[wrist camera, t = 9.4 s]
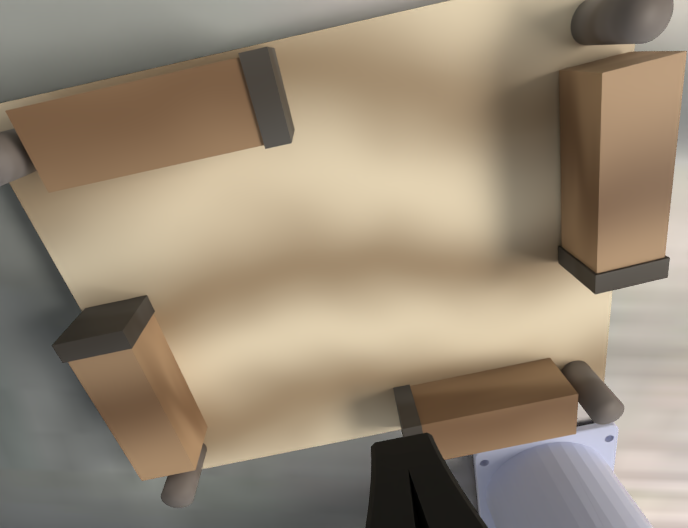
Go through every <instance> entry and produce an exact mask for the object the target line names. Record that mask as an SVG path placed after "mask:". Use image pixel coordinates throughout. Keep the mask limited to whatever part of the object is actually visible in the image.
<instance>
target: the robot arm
mask: <svg viewBox="0 0 688 528" xmlns="http://www.w3.org/2000/svg"><path fill="white" fill-rule="evenodd" d="M617 438H618V427H617V426H616V424H615V423H614V422H612V423H609V424H604V425H601V424H597V423H593V424H588V425H583V426H578V427H576V434H573V435H568V436H563V437H558V438H553V439H548V440H543V441H538V442H533V443H528V444H522V445H517V446H512V447H507V448H502V449H497V450H492V451H487V452H482V453H477V454H473V460H474V470H475V480H476V491H477V501H478V511H479V514H478V512H477V511H476V510H475V508H474V507H473V505H472V504H471V502H470V501H469V499H468V498H467V496H466V495H465V493H464V492H463V490H462V489H461V487H460V486H459V484H458V482H457V481H456V479H455V477H454V476H453V474H452V472H451V471H450V469H449V467H448V466H447V464H446V462H445V460H444V458H443V457H442V455H441V453H440V451H439V449H438V447H437V445H436V443H435V441H434V438H433V436H432V435H431V434H429V433H427V432H426V433H421V434H416V435H411V436H406V437H401V438H396V439H391V440H386V441H381V442H376V443H374V444H373V445H372V446H371V486H370V496H369V506H368V514H367V521H366V528H654V527H653V526H652V525H651V523H650V522H649V521H648V519H647V518H646V516H645V515H644V514H643V512H642V511H641V509H640V508H639V507H638V505H637V504H636V502H635V501H634V500H633V498H632V497H631V496H630V494H629V493H628V491H627V490H626V489H625V487H624V486H623V484H622V483H621V482H620V480H619V479H618V477H617V476H616V475H615V473H614V464H615V455H616V447H617Z"/></svg>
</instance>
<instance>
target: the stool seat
mask: <svg viewBox="0 0 688 528" xmlns="http://www.w3.org/2000/svg"><path fill="white" fill-rule="evenodd" d="M672 13H673V0H450V1H445V2H441V3H437V4H432V5H428V6H424V7H419V8H415V9H410V10H406V11H402V12H397V13H393V14H389V15H384V16H380V17H375V18H371V19H367V20H362V21H358V22H354V23H349V24H345V25H340V26H336V27H332V28H327V29H323V30H319V31H314V32H310V33H306V34H301V35H297V36H292V37H288V38H284V39H279V40H275V41H271V42H266V43H262V44H257V45H253V46H249V47H244V48H240V49H236V50H231V51H227V52H222V53H218V54H214V55H209V56H205V57H201V58H196V59H192V60H188V61H183V62H179V63H174V64H170V65H166V66H161V67H157V68H153V69H148V70H144V71H139V72H135V73H131V74H126V75H122V76H118V77H113V78H109V79H104V80H100V81H96V82H91V83H87V84H83V85H78V86H74V87H70V88H65V89H61V90H56V91H52V92H48V93H43V94H39V95H35V96H30V97H26V98H21V99H17V100H13V101H8V102H4V103H0V186H2V185H5V184H7V183H10V185H11V187H12V189H13V190H14V192H15V194H16V196H17V198H18V199H19V201H20V203H21V205H22V206H23V208H24V210H25V212H26V213H27V215H28V217H29V219H30V220H31V222H32V224H33V226H34V228H35V229H36V231H37V233H38V235H39V236H40V238H41V240H42V242H43V243H44V245H45V247H46V249H47V251H48V252H49V254H50V256H51V258H52V259H53V261H54V263H55V265H56V266H57V268H58V270H59V272H60V273H61V275H62V277H63V279H64V281H65V282H66V284H67V286H68V288H69V289H70V291H71V293H72V295H73V296H74V298H75V300H76V302H77V303H78V305H79V307H80V309H81V311H82V312H81V314H80V315H79V316H78V317H77V318H76V319H75V320H74V321H73V322H72V324H71V325H70V326H69V327H68V328H67V329H66V330H65V331H64V332H63V334H62V335H61V336H60V337H59V338H58V339H57V340H56V341H55V343H54V344H53V345H52V347H53V348H54V350H55V351H56V353H57V355H58V356H59V358H60V359H61V361H62V362H63V363H65V362H68V363H69V365H70V366H71V368H72V370H73V371H74V373H75V374H76V376H77V378H78V379H79V381H80V383H81V384H82V386H83V387H84V389H85V391H86V392H87V394H88V395H89V397H90V399H91V400H92V402H93V403H94V405H95V407H96V408H97V410H98V411H99V413H100V415H101V416H102V418H103V419H104V421H105V423H106V424H107V426H108V427H109V429H110V431H111V432H112V434H113V435H114V437H115V439H116V440H117V442H118V443H119V445H120V447H121V448H122V450H123V451H124V453H125V455H126V456H127V458H128V460H129V461H130V463H131V464H132V466H133V468H134V469H135V471H136V472H137V474H138V476H139V477H140V479H141V480H142V481H144V480H149V479H154V478H159V477H164V476H168V477H167V479H166V482H165V485H164V488H163V491H162V494H161V499H162V501H163V502H164V503H165V504H166V505H168V506H171V507H175V508H183V507H186V506H189V505H190V504H191V503H192V502H193V500H194V497H195V493H196V489H197V486H198V482H199V478H200V474H201V471H202V469H205V468H210V467H215V466H220V465H225V464H230V463H235V462H240V461H245V460H250V459H255V458H260V457H265V456H270V455H275V454H280V453H285V452H290V451H296V450H301V449H306V448H311V447H316V446H321V445H326V444H331V443H336V442H341V441H346V440H351V439H356V438H361V437H366V436H371V435H376V434H381V433H386V432H391V431H396V430H402V434H403V437H406V436H411V435H416V434H421V433H426V432H427V433H429V434H431V435H432V436H433V438H434V441H435V443H436V445H437V447H438V449H439V451H440V453H441V455H442V457H443V458H444V460H446V459H451V458H456V457H461V456H466V455H472V454H477V453H482V452H487V451H492V450H497V449H502V448H507V447H512V446H517V445H522V444H528V443H533V442H538V441H543V440H548V439H553V438H558V437H563V436H568V435H573V434H576V427H577V410H578V402H579V403H580V405H581V406H582V407H583V409H584V410H585V411H586V412H587V414H588V415H589V416H590V418H591V419H592V420H593V421H594V422H595V423H597V424H601V425H604V424H609V423H612V422H614V421H616V420H617V419H618V418H619V417H620V416H621V415H622V414H623V412H624V405H623V404H622V402H621V401H620V400H619V399H618V398H617V397H616V396H615V394H614V393H613V392H612V391H611V390H610V389H609V388H608V387H607V385H606V384H605V383H604V377H605V366H606V355H607V344H608V333H609V322H610V311H611V300H612V291H608V292H604V293H600V294H596V295H595V294H594V293H593V292H592V291H590V290H589V289H588V288H587V287H586V286H584V285H583V284H582V283H581V282H580V281H579V280H577V279H576V278H575V277H574V276H573V275H572V274H570V273H569V272H568V271H567V270H566V269H564V268H563V267H562V266H561V265H560V264H559V263H558V246H561V245H562V236H561V166H560V96H559V70H562V69H566V68H570V67H574V66H578V65H581V64H585V63H589V62H593V61H597V60H600V59H604V58H608V57H612V56H616V55H620V54H623V53H627V52H634V46H635V44H642V43H647V42H650V41H652V40H653V39H655V38H656V37H658V36H659V35H660V34H661V33H662V32H663V31H664V29H665V28H666V27H667V25H668V23H669V21H670V19H671V16H672Z"/></svg>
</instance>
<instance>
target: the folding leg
mask: <svg viewBox="0 0 688 528" xmlns="http://www.w3.org/2000/svg"><path fill="white" fill-rule="evenodd" d="M686 53H687V51H641V52H627V53H623V54H620V55H616V56H612V57H608V58H604V59H600V60H597V61H593V62H589V63H585V64H581V65H578V66H574V67H570V68H566V69H562V70H559V96H560V166H561V236H562V245H561V246H558V263H559V264H560V265H561V266H562V267H563V268H564V269H566V270H567V271H568V272H569V273H570V274H572V275H573V276H574V277H575V278H576V279H577V280H579V281H580V282H581V283H582V284H583V285H584V286H586V287H587V288H588V289H589V290H590V291H592V292H593V293H594V294H595V295H596V294H600V293H604V292H608V291H612V290H617V289H621V288H625V287H629V286H634V285H638V284H642V283H646V282H650V281H655V280H659V279H663V278H667V277H668V269H669V260H670V258H669V257H667V256H665V250H666V241H667V232H668V222H669V213H670V203H671V194H672V185H673V175H674V166H675V157H676V147H677V138H678V128H679V119H680V110H681V100H682V91H683V81H684V72H685V63H686Z"/></svg>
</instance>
